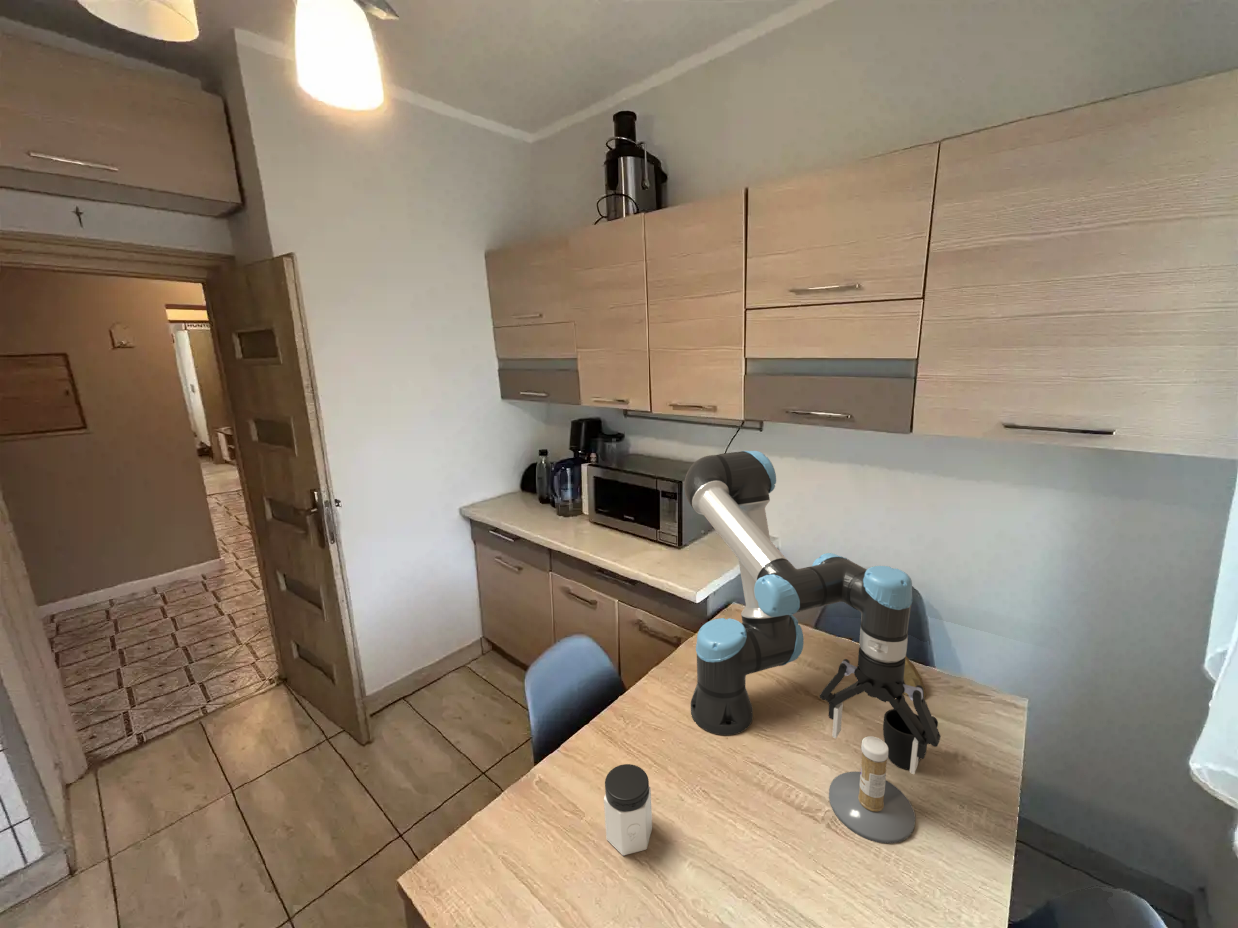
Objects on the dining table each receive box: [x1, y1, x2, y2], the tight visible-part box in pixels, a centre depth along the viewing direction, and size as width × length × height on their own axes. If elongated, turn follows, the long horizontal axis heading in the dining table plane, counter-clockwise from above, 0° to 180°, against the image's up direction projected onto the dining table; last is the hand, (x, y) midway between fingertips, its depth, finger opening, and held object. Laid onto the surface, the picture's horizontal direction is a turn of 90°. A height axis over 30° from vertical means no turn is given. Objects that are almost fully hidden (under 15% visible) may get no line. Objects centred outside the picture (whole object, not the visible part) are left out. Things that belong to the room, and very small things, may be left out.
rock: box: [903, 655, 927, 699], centre depth 130 cm, size 11×9×10 cm
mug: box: [882, 708, 939, 771], centre depth 109 cm, size 8×12×10 cm
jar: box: [603, 763, 653, 856], centre depth 94 cm, size 9×8×12 cm
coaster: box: [828, 770, 916, 844], centre depth 99 cm, size 15×15×1 cm
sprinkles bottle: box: [858, 735, 889, 812], centre depth 97 cm, size 5×5×13 cm
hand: (873, 750), depth 96 cm, fingers open, 13 cm apart
